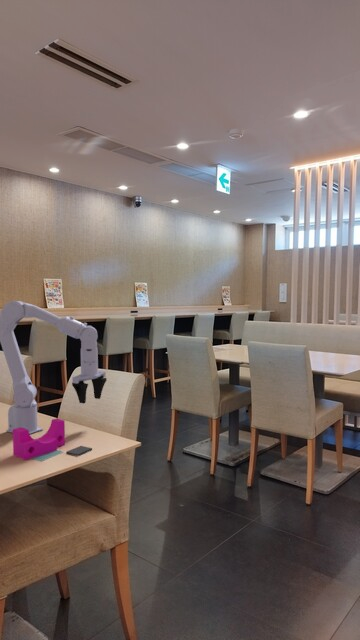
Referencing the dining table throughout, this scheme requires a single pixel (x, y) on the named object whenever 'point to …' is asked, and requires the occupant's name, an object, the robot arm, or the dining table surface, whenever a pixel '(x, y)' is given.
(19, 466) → the dining table surface
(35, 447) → the toy block
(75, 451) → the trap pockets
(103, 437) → the dining table surface
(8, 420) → the robot arm
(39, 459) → the pad
